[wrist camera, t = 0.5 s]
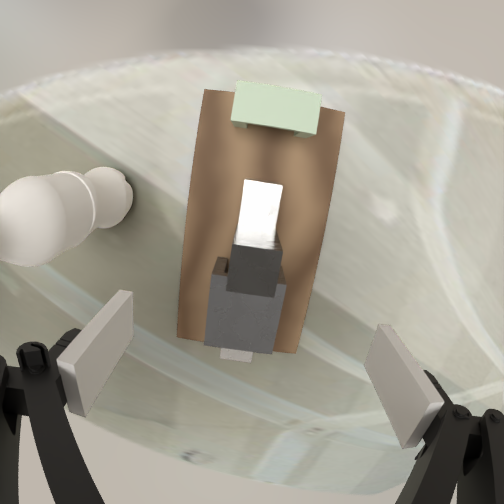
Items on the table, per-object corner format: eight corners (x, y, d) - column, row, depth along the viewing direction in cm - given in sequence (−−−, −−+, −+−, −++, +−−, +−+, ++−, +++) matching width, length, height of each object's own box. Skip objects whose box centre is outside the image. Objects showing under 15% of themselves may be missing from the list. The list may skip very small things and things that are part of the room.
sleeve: (210, 319, 40) (203, 345, 34) (217, 256, 38) (211, 274, 32) (269, 328, 40) (271, 354, 34) (281, 265, 38) (286, 284, 32)
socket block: (234, 126, 33) (230, 120, 28) (239, 93, 32) (237, 80, 27) (305, 138, 34) (316, 134, 28) (311, 104, 33) (322, 94, 27)
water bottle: (89, 165, 35) (-73, 191, 11) (140, 166, 36) (-14, 189, 12) (88, 221, 37) (-58, 296, 13) (137, 225, 38) (2, 317, 14)
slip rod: (221, 341, 41) (211, 402, 29) (244, 177, 35) (240, 185, 24) (252, 345, 41) (251, 407, 30) (280, 183, 35) (293, 194, 24)
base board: (178, 333, 42) (176, 337, 41) (205, 91, 33) (204, 89, 32) (294, 349, 42) (295, 353, 41) (342, 113, 34) (345, 112, 33)
